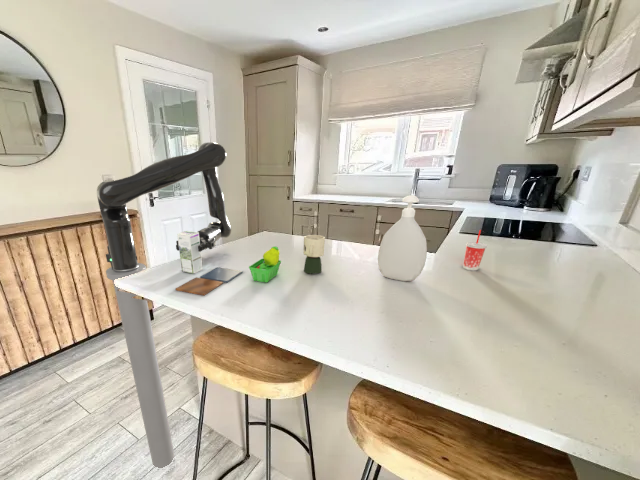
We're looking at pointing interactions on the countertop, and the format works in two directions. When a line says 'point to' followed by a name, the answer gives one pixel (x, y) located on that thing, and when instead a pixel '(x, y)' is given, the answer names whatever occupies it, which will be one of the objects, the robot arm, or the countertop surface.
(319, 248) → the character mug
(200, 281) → the wooden coaster
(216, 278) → the slate pad
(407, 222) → the soap bottle
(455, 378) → the countertop surface
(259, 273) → the fruit basket
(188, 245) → the syrup box
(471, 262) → the beverage cup
